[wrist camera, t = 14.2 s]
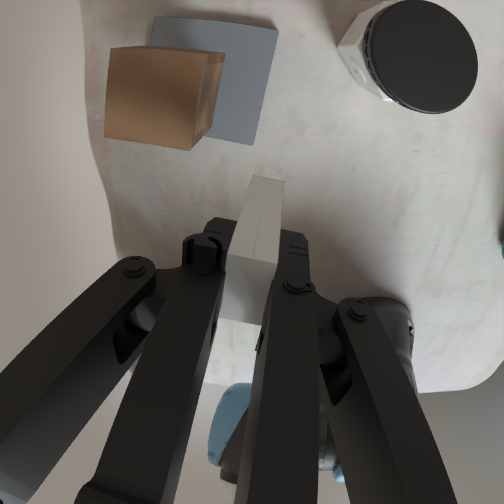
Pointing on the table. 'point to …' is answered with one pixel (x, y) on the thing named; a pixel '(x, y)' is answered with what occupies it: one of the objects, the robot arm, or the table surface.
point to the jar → (411, 55)
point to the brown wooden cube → (161, 94)
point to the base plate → (227, 68)
